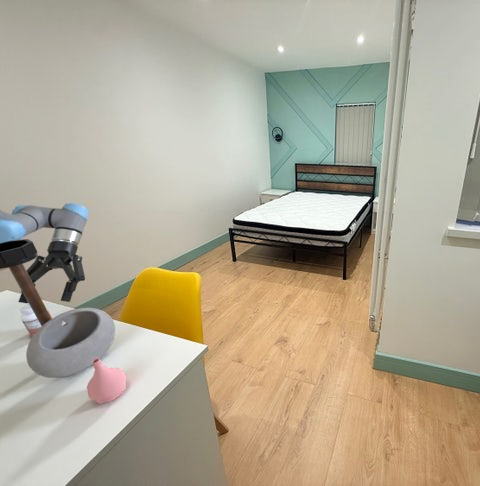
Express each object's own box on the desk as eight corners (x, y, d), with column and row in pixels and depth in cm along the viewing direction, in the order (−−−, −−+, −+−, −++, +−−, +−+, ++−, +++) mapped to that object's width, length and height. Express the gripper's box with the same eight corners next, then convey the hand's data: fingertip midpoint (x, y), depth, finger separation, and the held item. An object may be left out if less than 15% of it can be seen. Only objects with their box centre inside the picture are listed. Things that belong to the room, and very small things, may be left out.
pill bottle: (40, 328, 90) (25, 301, 86) (61, 325, 92) (48, 299, 87) (27, 341, 85) (10, 313, 80) (49, 337, 86) (34, 310, 82)
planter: (51, 398, 66) (16, 342, 59) (40, 387, 70) (5, 332, 62) (129, 348, 82) (109, 299, 74) (117, 341, 85) (96, 292, 77)
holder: (-26, 271, 60) (-35, 256, 59) (6, 255, 68) (-2, 241, 66) (21, 266, 62) (12, 251, 61) (46, 251, 70) (39, 238, 68)
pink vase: (84, 408, 64) (65, 373, 59) (110, 381, 71) (94, 347, 66) (115, 410, 64) (97, 375, 59) (137, 382, 71) (123, 349, 66)
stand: (42, 372, 74) (-21, 270, 61) (59, 351, 81) (7, 256, 68) (73, 366, 76) (19, 266, 62) (88, 346, 82) (42, 252, 69)
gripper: (107, 246, 100) (91, 302, 92) (39, 248, 99) (17, 304, 91) (91, 238, 93) (72, 298, 85) (18, 240, 92) (-7, 301, 84)
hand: (44, 302), depth 88 cm, fingers open, 13 cm apart
